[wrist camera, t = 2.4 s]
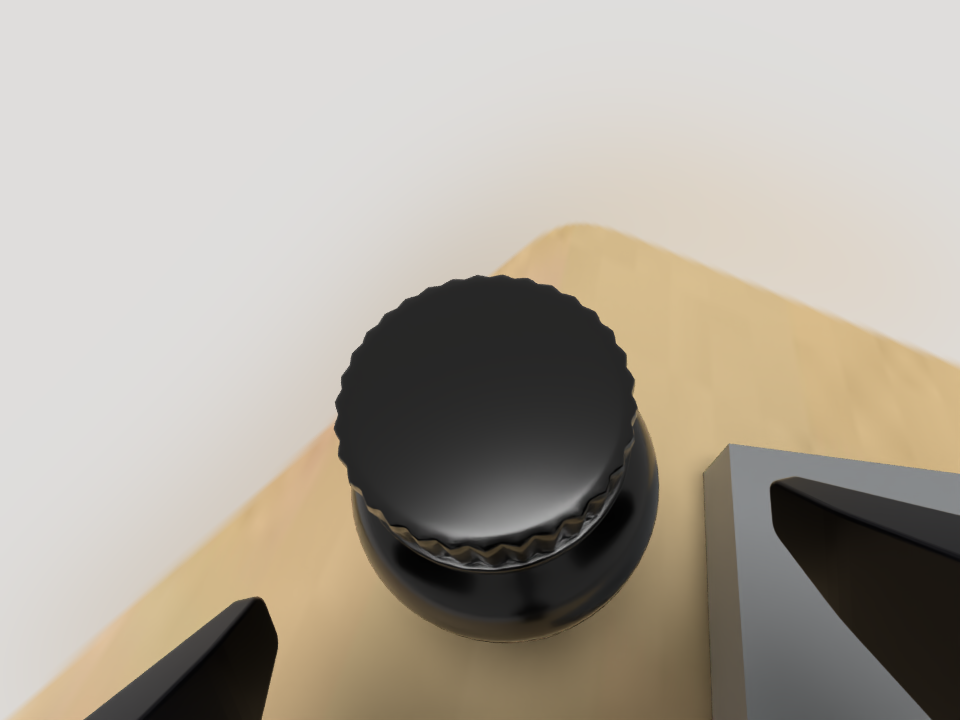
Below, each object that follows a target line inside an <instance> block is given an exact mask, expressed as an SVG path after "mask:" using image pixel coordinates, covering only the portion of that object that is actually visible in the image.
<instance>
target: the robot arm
mask: <svg viewBox="0 0 960 720" xmlns="http://www.w3.org/2000/svg"><path fill="white" fill-rule="evenodd" d="M770 503H771V515H772V524H773V528H774V531H775V533H776V535H777V537H778V538H779V540H780V541H781V542H782V543H783V545H784V546H785V547H786V549H787V550H788V551H789V553H790V554H791V555H792V557H793V558H794V559H795V561H796V562H797V563H798V565H799V566H800V567H801V569H802V570H803V571H804V573H805V574H806V575H807V577H808V578H809V579H810V580H811V582H812V583H813V584H814V586H815V587H816V588H817V590H818V591H819V592H820V594H821V595H822V596H823V598H824V599H825V600H826V602H827V603H828V604H829V606H830V607H831V608H832V609H833V611H834V612H835V613H836V614H837V615H838V617H839V618H840V619H841V620H842V621H843V623H844V624H845V625H846V626H847V627H848V628H849V629H850V631H851V632H852V633H853V634H854V635H855V636H856V637H857V638H858V639H859V641H860V642H861V643H862V644H863V645H864V646H865V647H866V648H867V649H868V650H869V652H870V653H871V654H872V655H873V656H874V657H875V658H876V659H877V660H878V661H879V663H880V664H881V665H882V666H883V667H884V668H885V669H886V670H887V671H888V672H889V674H890V675H891V676H892V677H893V678H894V679H895V680H896V681H897V682H898V683H899V685H900V686H901V687H902V688H903V689H904V690H905V691H906V692H907V693H908V694H909V695H910V697H911V698H912V699H913V700H914V701H915V702H916V703H917V704H918V705H919V706H920V708H921V709H922V710H923V711H924V712H925V713H926V714H927V715H928V716H929V717H930V719H931V720H960V515H957V514H953V513H948V512H944V511H940V510H936V509H932V508H927V507H923V506H919V505H915V504H911V503H907V502H902V501H898V500H894V499H890V498H886V497H882V496H877V495H873V494H869V493H865V492H861V491H856V490H852V489H848V488H844V487H840V486H836V485H831V484H827V483H823V482H819V481H815V480H811V479H806V478H802V477H797V476H792V477H788V478H784V479H779V480H775V481H773V482H772V483H771V484H770ZM277 650H278V636H277V632H276V630H275V627H274V625H273V622H272V619H271V617H270V614H269V612H268V609H267V606H266V604H265V602H264V600H263V599H262V598H260V597H252V598H247V599H243V600H238V601H236V602H234V603H232V604H231V605H230V606H229V607H227V608H226V609H225V610H224V611H222V612H221V613H220V614H218V615H217V616H216V617H215V618H213V619H212V620H211V621H209V622H208V623H207V624H206V625H204V626H203V627H202V628H200V629H199V630H198V631H197V632H195V633H194V634H193V635H192V636H190V637H189V638H188V639H186V640H185V641H184V642H183V643H181V644H180V645H179V646H177V647H176V648H175V649H174V650H172V651H171V652H170V653H168V654H167V655H166V656H165V657H163V658H162V659H161V660H160V661H158V662H157V663H156V664H154V665H153V666H152V667H151V668H149V669H148V670H147V671H145V672H144V673H143V674H142V675H140V676H139V677H138V678H136V679H135V680H134V681H133V682H131V683H130V684H129V685H128V686H126V687H125V688H124V689H122V690H121V691H120V692H119V693H117V694H116V695H115V696H113V697H112V698H111V699H110V700H108V701H107V702H106V703H104V704H103V705H102V706H101V707H99V708H98V709H97V710H96V711H94V712H93V713H92V714H90V715H89V716H88V717H87V718H85V719H84V720H262V716H263V711H264V707H265V703H266V698H267V694H268V690H269V685H270V681H271V677H272V672H273V668H274V664H275V659H276V655H277Z"/></svg>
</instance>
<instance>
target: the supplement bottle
mask: <svg viewBox="0 0 960 720" xmlns="http://www.w3.org/2000/svg"><path fill="white" fill-rule="evenodd" d="M341 386H342V390H341V392H340V394H339V395H338V397H337V399H336V401H335V405H336V409H337V412H338V417H337V420H336V422H335V426H334V431H335V433H336V435H337V437H338V439H339V440H340V445H339V448H338V457H339V459H340V461H341V462H342V463H343V465H344V466H345V467H346V468H347V472H348V479H349V484H350V486H351V502H352V509H353V517H354V521H355V525H356V530H357V533H358V536H359V539H360V542H361V544H362V547H363V549H364V551H365V554H366V556H367V558H368V560H369V562H370V564H371V565H372V567H373V569H374V570H375V572H376V574H377V575H378V577H379V578H380V579H381V580H382V582H383V583H384V584H385V586H386V587H387V588H388V589H389V590H390V591H391V593H392V594H393V595H394V596H395V597H396V598H397V599H398V600H399V601H400V602H402V603H403V604H404V605H405V606H406V607H407V608H409V609H410V610H411V611H413V612H414V613H415V614H417V615H418V616H420V617H421V618H423V619H424V620H426V621H428V622H430V623H432V624H434V625H435V626H437V627H439V628H441V629H443V630H446V631H448V632H451V633H454V634H456V635H459V636H462V637H466V638H470V639H474V640H479V641H486V642H493V643H516V642H522V641H525V642H528V641H535V640H540V639H545V638H548V637H551V636H554V635H556V634H559V633H560V632H562V631H564V630H566V629H567V630H568V629H570V628H572V627H574V626H576V625H578V624H579V623H581V622H583V621H584V620H586V619H588V618H589V617H591V616H592V615H593V614H595V613H596V612H597V611H599V610H600V609H601V608H603V607H604V606H605V605H606V604H607V603H608V602H609V601H610V600H611V599H612V598H613V597H614V596H615V595H616V594H617V593H618V592H619V591H620V589H621V588H622V587H623V586H624V585H625V583H626V582H627V581H628V579H629V578H630V576H631V575H632V573H633V572H634V570H635V569H636V567H637V566H638V564H639V562H640V560H641V558H642V556H643V554H644V552H645V550H646V548H647V545H648V543H649V540H650V537H651V535H652V532H653V528H654V524H655V520H656V515H657V508H658V501H659V477H658V467H657V461H656V455H655V451H654V447H653V443H652V440H651V437H650V434H649V432H648V429H647V427H646V424H645V422H644V420H643V418H642V416H641V414H640V412H639V411H638V407H637V404H636V401H635V399H634V398H633V392H634V388H635V379H634V378H633V376H632V374H631V373H630V371H629V370H628V369H627V355H626V353H625V352H624V351H623V350H622V349H621V348H620V347H619V346H618V345H617V344H616V341H615V336H614V332H613V331H612V330H611V329H610V328H608V327H607V326H605V325H603V324H602V323H601V322H600V320H599V317H598V315H597V313H596V312H595V311H593V310H591V309H589V308H586V307H584V306H582V305H581V304H580V302H579V301H578V300H577V299H576V297H574V296H571V295H567V294H563V293H560V292H559V291H558V290H557V289H556V288H555V287H553V286H552V285H545V284H537V283H535V282H534V281H533V280H531V279H529V278H517V279H514V278H510V277H509V276H506V275H498V276H493V277H485V276H480V275H476V276H473V277H471V278H468V279H465V280H462V279H453V280H450V281H448V282H446V283H445V284H443V285H441V286H436V287H435V286H434V287H428V288H427V289H425V290H424V291H423V292H422V293H420V294H419V295H418V296H415V297H411V298H408V299H405V300H404V301H403V302H402V303H401V304H400V306H399V307H398V308H397V309H395V310H393V311H390V312H388V313H386V314H385V315H384V316H383V318H382V319H381V321H380V322H379V324H378V325H377V326H375V327H374V328H372V329H371V330H369V331H368V332H367V333H366V335H365V337H364V340H363V343H362V344H361V345H360V346H359V347H358V348H357V349H356V350H355V351H354V352H353V353H352V356H351V362H350V366H349V367H348V368H347V370H346V371H345V372H344V374H343V375H342V377H341Z"/></svg>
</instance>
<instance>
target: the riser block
mask: <svg viewBox="0 0 960 720" xmlns="http://www.w3.org/2000/svg"><path fill="white" fill-rule="evenodd" d="M703 475H704V502H705V529H706V556H707V583H708V609H709V636H710V663H711V690H712V717H713V720H931V719H930V717H929V716H928V715H927V714H926V713H925V712H924V711H923V710H922V709H921V708H920V706H919V705H918V704H917V703H916V702H915V701H914V700H913V699H912V698H911V697H910V695H909V694H908V693H907V692H906V691H905V690H904V689H903V688H902V687H901V686H900V685H899V683H898V682H897V681H896V680H895V679H894V678H893V677H892V676H891V675H890V674H889V672H888V671H887V670H886V669H885V668H884V667H883V666H882V665H881V664H880V663H879V661H878V660H877V659H876V658H875V657H874V656H873V655H872V654H871V653H870V652H869V650H868V649H867V648H866V647H865V646H864V645H863V644H862V643H861V642H860V641H859V639H858V638H857V637H856V636H855V635H854V634H853V633H852V632H851V631H850V629H849V628H848V627H847V626H846V625H845V624H844V623H843V621H842V620H841V619H840V618H839V617H838V615H837V614H836V613H835V612H834V611H833V609H832V608H831V607H830V606H829V604H828V603H827V602H826V600H825V599H824V598H823V596H822V595H821V594H820V592H819V591H818V590H817V588H816V587H815V586H814V584H813V583H812V582H811V580H810V579H809V578H808V577H807V575H806V574H805V573H804V571H803V570H802V569H801V567H800V566H799V565H798V563H797V562H796V561H795V559H794V558H793V557H792V555H791V554H790V553H789V551H788V550H787V549H786V547H785V546H784V545H783V543H782V542H781V541H780V540H779V538H778V537H777V535H776V533H775V531H774V528H773V524H772V515H771V503H770V484H771V483H772V482H773V481H775V480H779V479H784V478H788V477H792V476H797V477H802V478H806V479H811V480H815V481H819V482H823V483H827V484H831V485H836V486H840V487H844V488H848V489H852V490H856V491H861V492H865V493H869V494H873V495H877V496H882V497H886V498H890V499H894V500H898V501H902V502H907V503H911V504H915V505H919V506H923V507H927V508H932V509H936V510H940V511H944V512H948V513H953V514H957V515H960V474H957V473H949V472H941V471H934V470H926V469H919V468H911V467H903V466H896V465H888V464H881V463H873V462H865V461H858V460H850V459H843V458H835V457H827V456H820V455H812V454H804V453H797V452H789V451H782V450H774V449H766V448H759V447H751V446H744V445H736V444H728V445H727V446H726V448H725V449H724V450H723V451H722V452H721V453H720V455H719V456H718V457H717V458H716V459H715V460H714V461H713V463H712V464H711V465H710V466H709V467H708V468H707V469H706V471H705V472H704V473H703Z"/></svg>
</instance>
